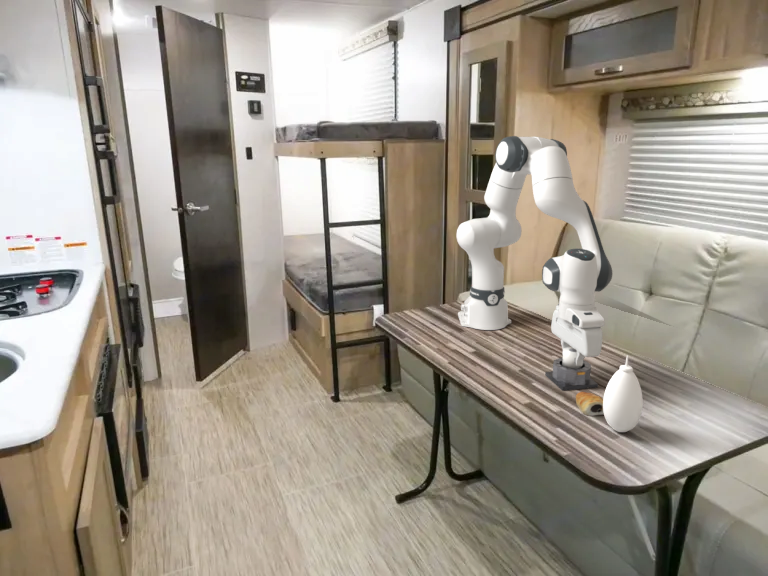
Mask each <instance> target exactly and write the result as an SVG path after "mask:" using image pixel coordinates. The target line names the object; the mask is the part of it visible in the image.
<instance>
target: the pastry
mask: <svg viewBox="0 0 768 576" xmlns="http://www.w3.org/2000/svg"><path fill="white" fill-rule="evenodd" d="M575 402H576V403H575V404H576V406H577V407H578V409H579V410H580V412H581V413H582V414H583V415H585V416H589V417H590V416H601V415H604V412H603V397H601V396H599V395H596V394H595V393H591V392H588V391H586V392H585V391H579V392H578V393H576V395H575Z"/></svg>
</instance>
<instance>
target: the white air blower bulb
mask: <svg viewBox="0 0 768 576" xmlns="http://www.w3.org/2000/svg"><path fill="white" fill-rule="evenodd" d="M602 399H603V412H604V414H603V415H604V418H605V421H606V422H607V424H608V426H610V427H611V429H613V430H614V431H616V432H617V433H626V432H628V431H630V430H631V431H632V430H634V429H635V428H636V426H637V425H638V423H639V422H640V419H641V416H642V413H643V407H644V405H643V403H644V400H643V392H642V388H641V384H640V382H639V379H638V376H637V375H636V373H635V371H634V368H633V367H632V366H631V365H629V355H626V358H625V364H620V366H619V369H618V370H616V372H615V373H614V374H613V375H612V377H611V378H610V379H609V381H608V383H607V385H606V388H605V391H604V393H603V397H602Z"/></svg>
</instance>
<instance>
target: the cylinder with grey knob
mask: <svg viewBox="0 0 768 576" xmlns="http://www.w3.org/2000/svg"><path fill="white" fill-rule="evenodd" d="M562 353H563V354H562V358H563V360H562V366H563V367H566V368H570V369H581V368H582V366H577V365H576V364H575V363H574V358H576V357H577V355H578V354H577V350H576V349H574V348H573V347H571V346H570V347H567V348H564V349H562Z"/></svg>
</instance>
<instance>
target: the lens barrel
mask: <svg viewBox="0 0 768 576" xmlns="http://www.w3.org/2000/svg"><path fill="white" fill-rule="evenodd" d="M562 360H563V357H559V358H556V359H554V360H553V364H552V370H551V371H545V377H546V378H548V379H549V380H550V381H551V382H552V383H553V384H554V385H555V386H557V387H558V388H559V389H560V390H561V391H572V390H573V391H575V390H583V389H585V390H586V389H596V388H598V387H599V383H597V382H596V381H595V380H594V379H593V378H591V371H592V365H591V363H589V362H588V361H587V360H585V359H583V365H582V368H581V369H570V368H566V367H563V366H562Z"/></svg>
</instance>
